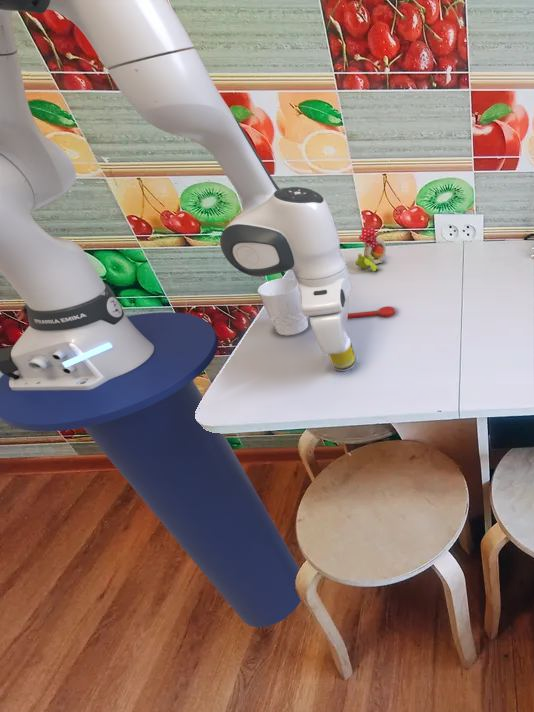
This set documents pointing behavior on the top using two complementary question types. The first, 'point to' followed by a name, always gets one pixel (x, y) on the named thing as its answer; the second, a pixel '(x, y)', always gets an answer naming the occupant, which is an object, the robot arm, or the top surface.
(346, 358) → the supplement bottle
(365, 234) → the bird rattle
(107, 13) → the robot arm
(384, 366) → the top surface
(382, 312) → the spoon
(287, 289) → the white cup
